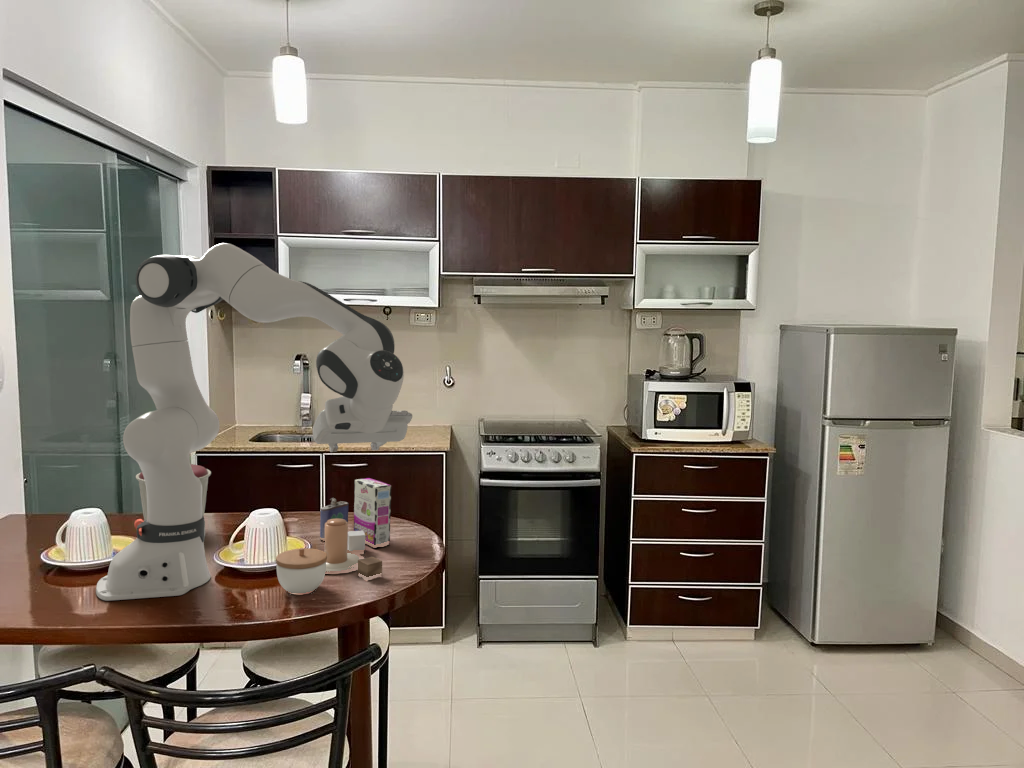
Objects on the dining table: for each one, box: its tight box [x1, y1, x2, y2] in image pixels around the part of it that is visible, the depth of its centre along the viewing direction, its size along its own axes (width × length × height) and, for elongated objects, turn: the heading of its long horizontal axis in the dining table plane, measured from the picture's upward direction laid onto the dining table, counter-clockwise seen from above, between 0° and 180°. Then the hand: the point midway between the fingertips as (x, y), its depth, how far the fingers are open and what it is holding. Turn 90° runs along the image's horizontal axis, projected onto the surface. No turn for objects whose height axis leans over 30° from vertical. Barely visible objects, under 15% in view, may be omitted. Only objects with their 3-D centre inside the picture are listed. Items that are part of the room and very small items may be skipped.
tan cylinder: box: [323, 518, 349, 564], centre depth 175 cm, size 5×5×10 cm
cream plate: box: [326, 553, 360, 572], centre depth 175 cm, size 14×14×1 cm
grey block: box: [348, 530, 366, 551], centre depth 185 cm, size 4×4×5 cm
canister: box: [135, 463, 212, 521], centre depth 193 cm, size 18×18×21 cm
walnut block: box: [357, 555, 383, 577], centre depth 168 cm, size 4×4×4 cm
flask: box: [319, 497, 350, 538], centre depth 196 cm, size 9×3×11 cm, turn 146°
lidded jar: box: [275, 547, 327, 593], centre depth 158 cm, size 11×11×9 cm
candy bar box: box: [353, 477, 392, 545], centre depth 192 cm, size 11×5×16 cm, turn 42°
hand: (353, 448), depth 163 cm, fingers open, 8 cm apart
